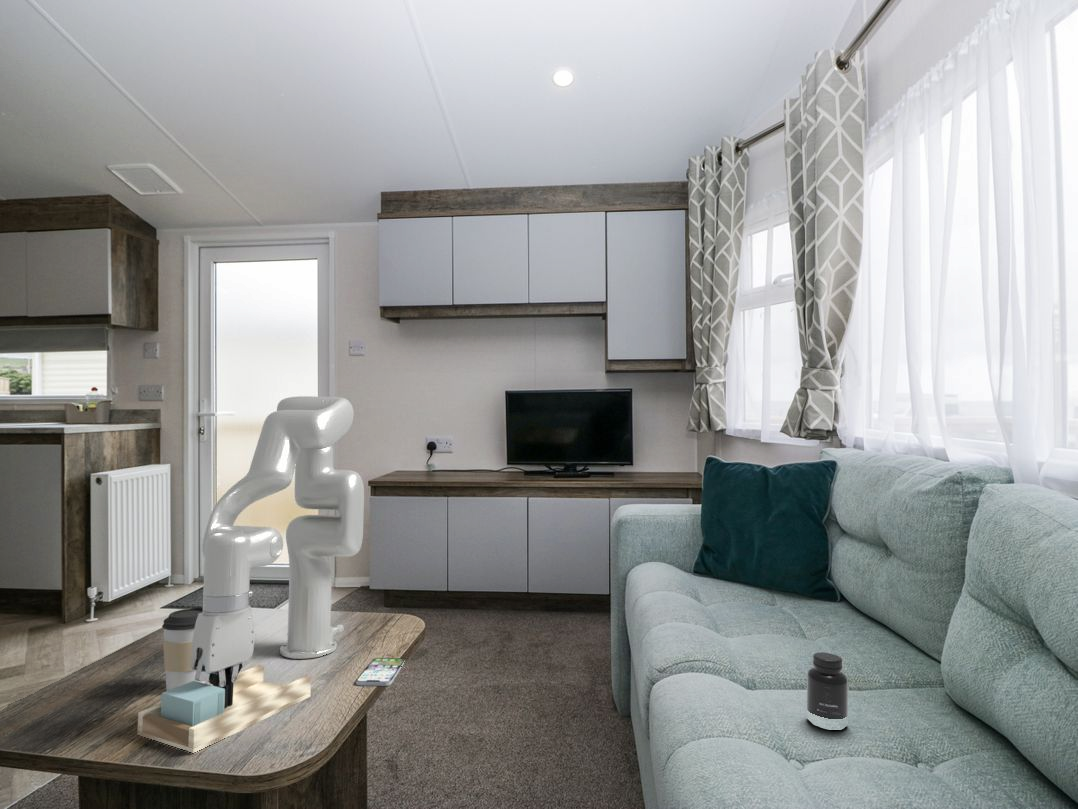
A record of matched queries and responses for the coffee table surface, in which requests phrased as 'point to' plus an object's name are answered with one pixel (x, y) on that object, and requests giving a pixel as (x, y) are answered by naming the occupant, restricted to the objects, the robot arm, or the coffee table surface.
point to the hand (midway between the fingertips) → (222, 705)
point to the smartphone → (380, 672)
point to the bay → (227, 712)
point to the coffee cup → (179, 646)
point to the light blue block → (192, 703)
